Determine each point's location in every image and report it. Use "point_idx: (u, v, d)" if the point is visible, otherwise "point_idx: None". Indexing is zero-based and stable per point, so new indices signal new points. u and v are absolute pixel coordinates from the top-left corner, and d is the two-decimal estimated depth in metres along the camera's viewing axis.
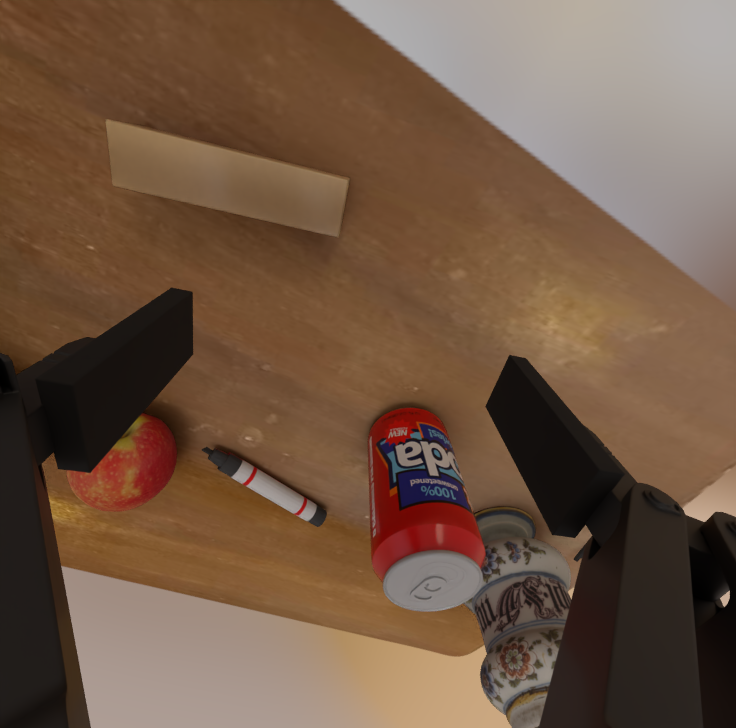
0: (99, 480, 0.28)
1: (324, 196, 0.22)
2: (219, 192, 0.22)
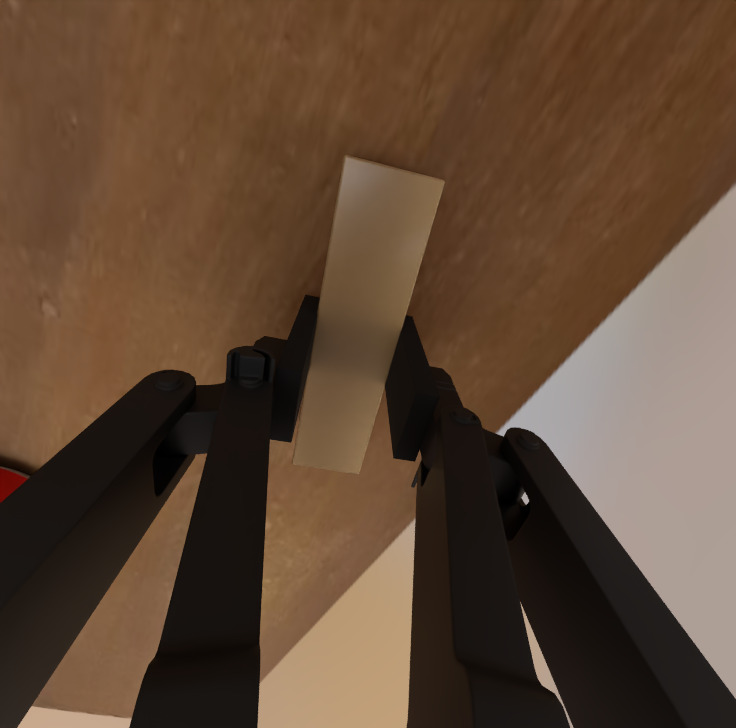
0: None
1: (340, 453, 0.18)
2: (340, 335, 0.15)
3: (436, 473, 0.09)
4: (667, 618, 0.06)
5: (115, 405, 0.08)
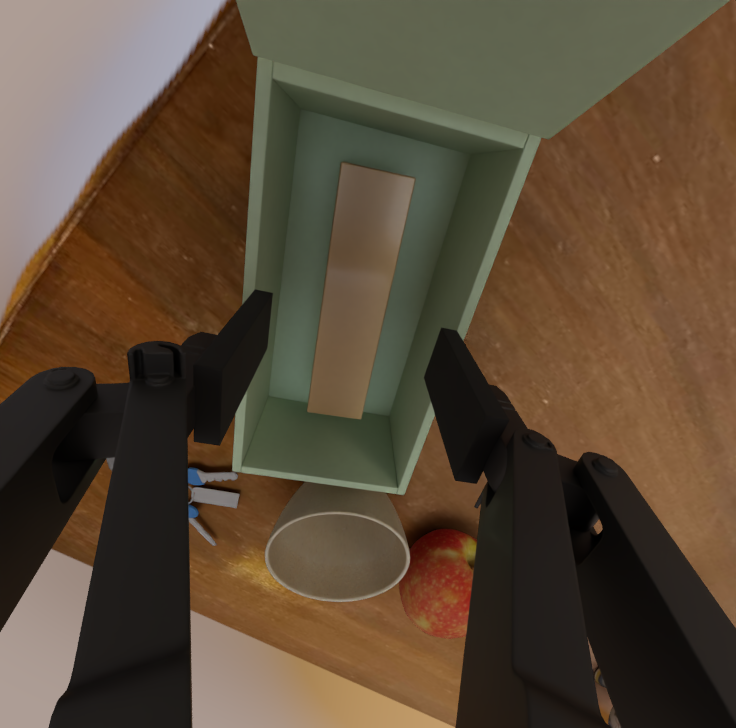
0: None
1: (345, 400, 0.22)
2: (342, 300, 0.19)
3: (504, 494, 0.09)
4: None
5: None
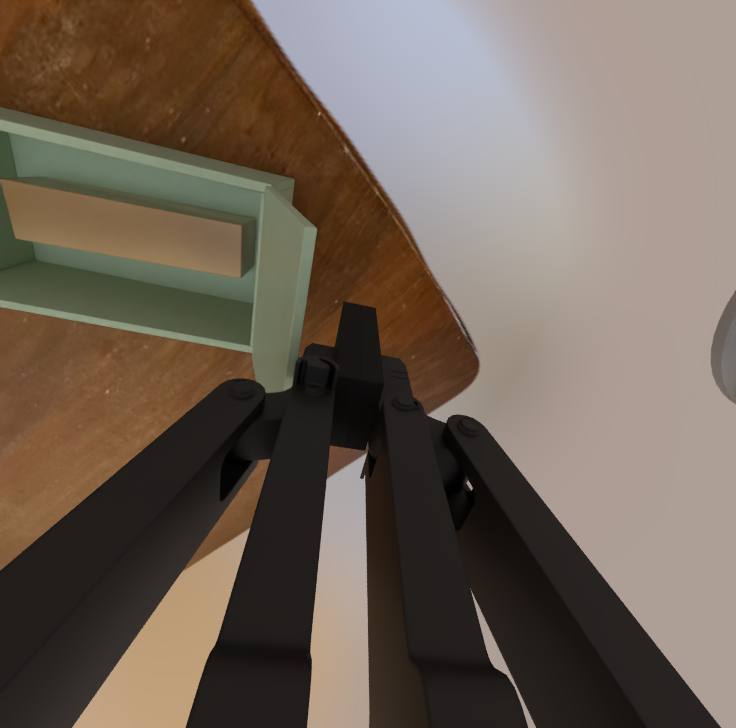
0: None
1: (32, 222, 0.22)
2: (137, 223, 0.22)
3: (382, 464, 0.09)
4: (606, 592, 0.06)
5: (193, 409, 0.08)
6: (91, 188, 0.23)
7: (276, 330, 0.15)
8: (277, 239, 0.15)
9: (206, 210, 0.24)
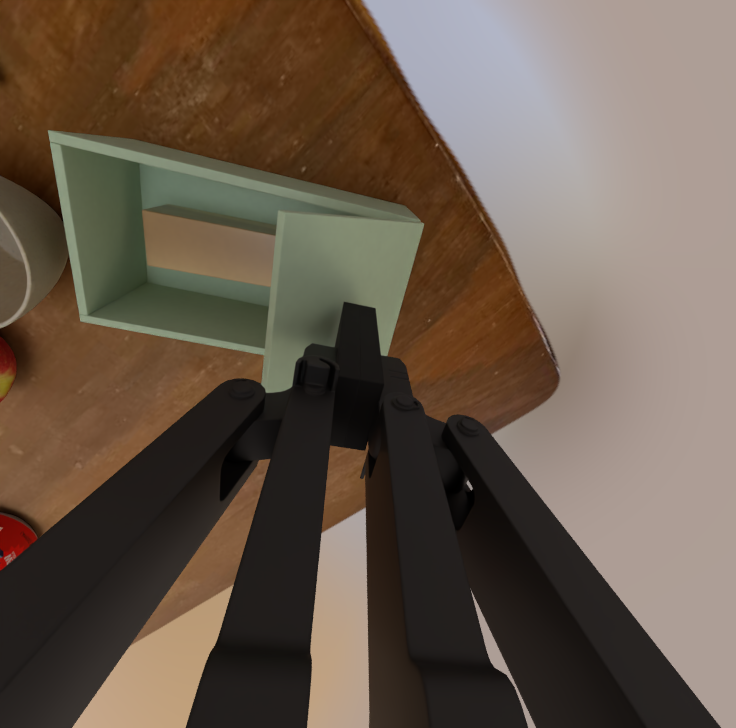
0: None
1: (166, 250, 0.23)
2: (266, 251, 0.23)
3: (382, 464, 0.09)
4: (606, 592, 0.06)
5: (193, 409, 0.08)
6: (216, 216, 0.24)
7: None
8: None
9: None
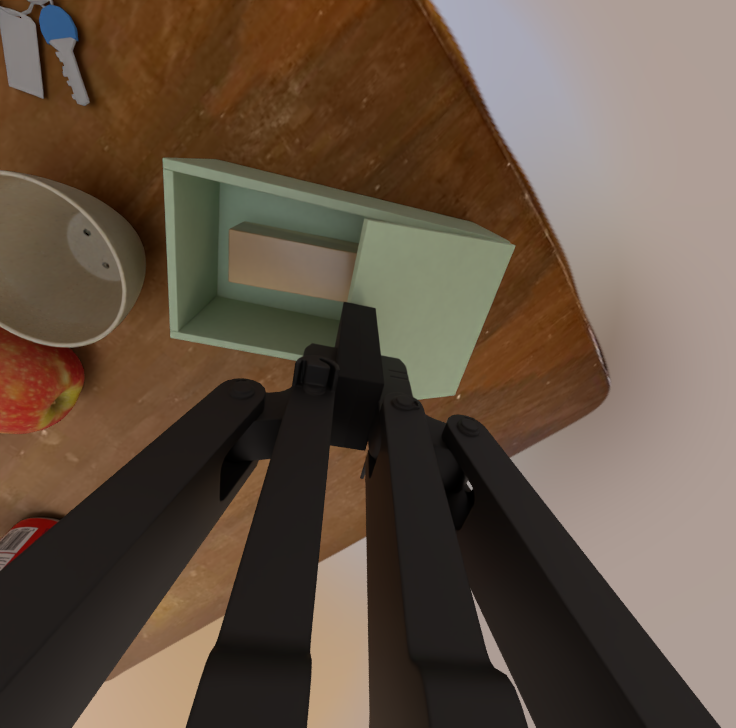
0: None
1: (248, 267, 0.24)
2: (345, 268, 0.24)
3: (382, 464, 0.09)
4: (606, 592, 0.06)
5: (193, 409, 0.08)
6: (293, 233, 0.25)
7: None
8: None
9: None
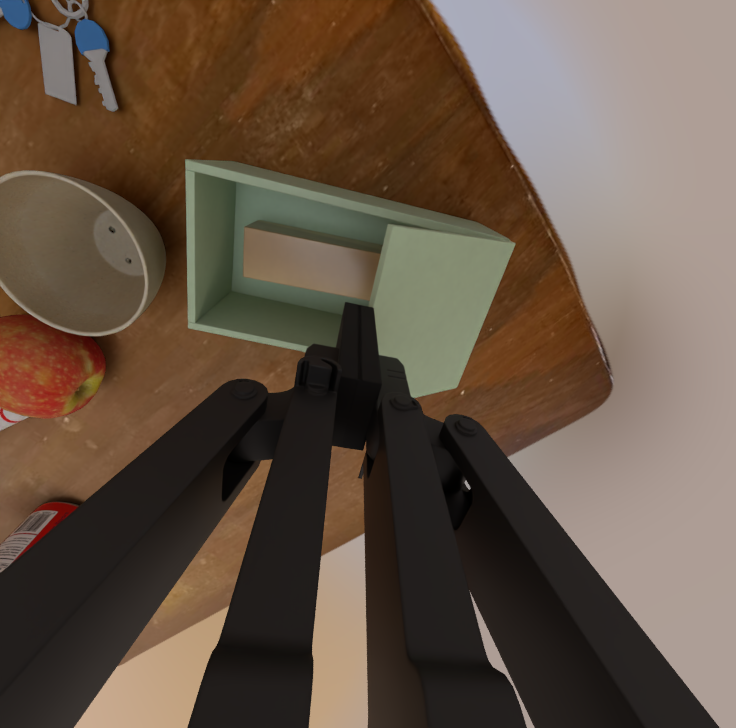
0: (22, 404, 0.27)
1: (261, 263, 0.25)
2: (353, 264, 0.25)
3: (380, 464, 0.09)
4: (604, 592, 0.06)
5: (196, 409, 0.08)
6: (304, 231, 0.26)
7: None
8: None
9: None
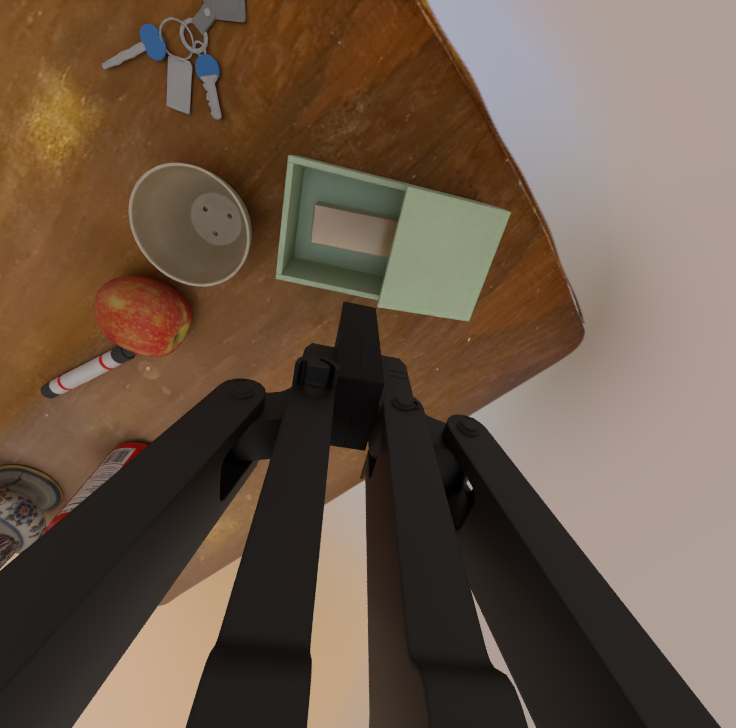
0: (142, 341, 0.35)
1: (325, 232, 0.34)
2: (393, 232, 0.34)
3: (382, 464, 0.09)
4: (606, 592, 0.06)
5: (193, 409, 0.08)
6: (354, 209, 0.35)
7: None
8: None
9: None
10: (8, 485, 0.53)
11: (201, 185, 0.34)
